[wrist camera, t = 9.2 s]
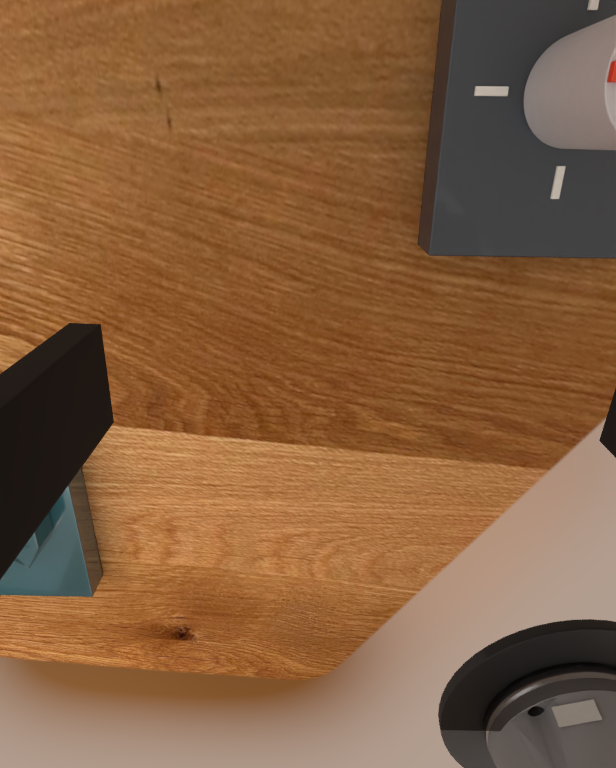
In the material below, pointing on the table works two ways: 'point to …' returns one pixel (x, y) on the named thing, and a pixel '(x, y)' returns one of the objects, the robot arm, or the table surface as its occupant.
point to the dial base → (509, 141)
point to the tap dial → (575, 90)
